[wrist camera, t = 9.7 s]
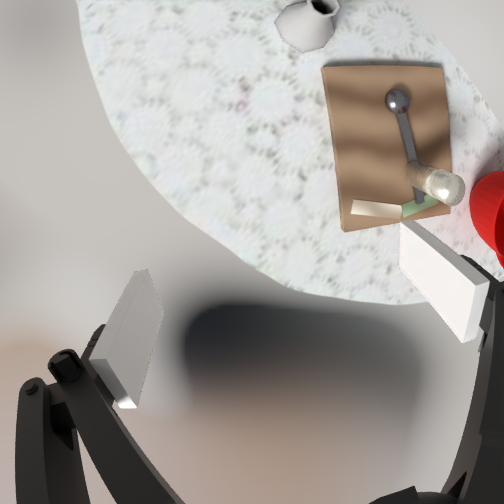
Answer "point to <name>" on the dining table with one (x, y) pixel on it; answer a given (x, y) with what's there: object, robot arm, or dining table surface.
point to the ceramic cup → (489, 211)
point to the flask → (307, 24)
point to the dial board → (384, 141)
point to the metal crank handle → (420, 173)
